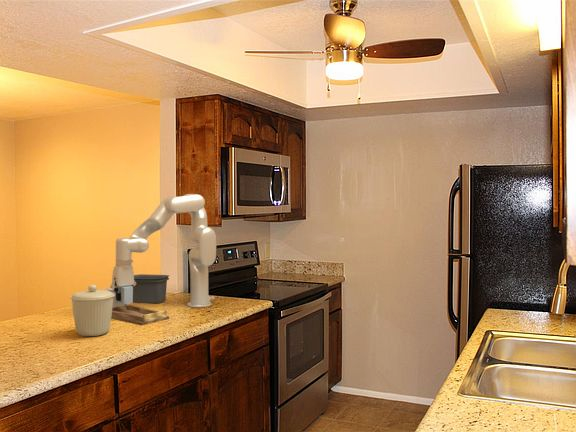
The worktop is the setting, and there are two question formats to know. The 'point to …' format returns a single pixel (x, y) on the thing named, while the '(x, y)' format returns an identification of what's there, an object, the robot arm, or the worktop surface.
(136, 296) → the storage bin
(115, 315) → the board
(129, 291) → the panel block
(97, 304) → the canister
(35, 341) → the worktop surface
